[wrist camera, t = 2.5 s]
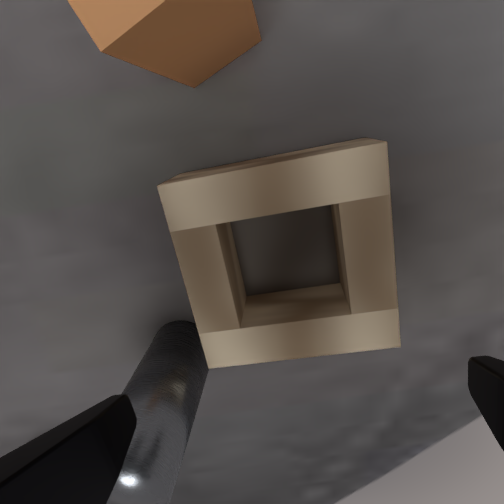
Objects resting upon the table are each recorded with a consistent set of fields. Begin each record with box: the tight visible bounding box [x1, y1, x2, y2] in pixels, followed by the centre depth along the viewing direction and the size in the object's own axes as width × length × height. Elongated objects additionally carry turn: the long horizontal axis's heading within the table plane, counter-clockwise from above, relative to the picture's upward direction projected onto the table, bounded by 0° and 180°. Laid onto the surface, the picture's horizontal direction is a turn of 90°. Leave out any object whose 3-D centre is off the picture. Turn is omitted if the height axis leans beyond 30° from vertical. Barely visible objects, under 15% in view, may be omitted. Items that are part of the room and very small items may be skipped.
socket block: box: [157, 137, 401, 369], centre depth 19 cm, size 10×10×4 cm
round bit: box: [106, 321, 209, 504], centre depth 19 cm, size 4×4×10 cm
